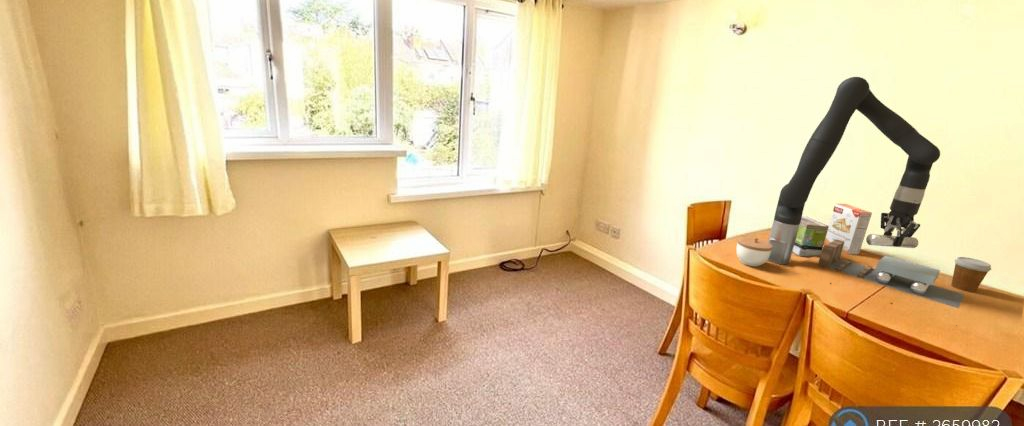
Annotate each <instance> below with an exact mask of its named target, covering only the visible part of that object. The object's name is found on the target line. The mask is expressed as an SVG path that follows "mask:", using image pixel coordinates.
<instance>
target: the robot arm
mask: <svg viewBox="0 0 1024 426" xmlns="http://www.w3.org/2000/svg"><path fill="white" fill-rule="evenodd" d="M855 111H858V112H859V113H860V114H862V115H863V116H864V117H866V118H867V119H868V121H870V122H871V123H872V124H873V126H874V127H875V128H877V130H879V131H880V133H881V134H883V135H884V136H885V137H886V138H887V139H889V140H890V141H891V142H892V143H893V144H894V145H896V146H897V147H899V148H901V150H902V151H904V153H905V154H906V155H907V156H908V157H907V161H906V165H905V170H904V172H903V175H902V177H901V179H900V182H899V184H898V187H897V188H896V191H895V192H894V196H893V199H892V201H891V204H890V206H889V210H890V211H889V212H881V214H880V228H881V229H883V231H884V233H883V235H888V236H893V232H894V230H895V229H896V231H897V232H896V235H895V236H896V238H895V240H894V244H893V246H895V247H894V248H901V247H900V246H901V245H902V242H903V240H904V238H905V237H909V238H910V237H913V235H914V234H915V233H916V232H917V230H918V229H919V228H920V227H921V224H920V223H916V222H915V221H914V220H915V219H914V218H915V216H916V215H917V214H918V212H919V211H920V207H921V205H922V202H923V200H924V196H925V193H926V189H927V187H928V184H929V181H930V177H931V175H930V172H931V170H932V168H933V165H934V163H936V162H937V161H938V160H939V159H940V158H941V157H940V156H941V150H940V149H939V147H938V146H936V145H935V144H934V142H931V141H930V140H929V139H928V138H926V137H925V136H923V135H922V134H921V133H920V132H918V130H917V129H916V128H915V127H914V126H912V124H910V123H909V122H908V121H907V120H905V118H903V117H902V116H900V115H899V114H898V113H897V112H896V111H893V110H892V109H891V108H889V107H888V106H886V105H885V104H884V103H883V101H881V100H880V99H878V98H877V97H876V96H875V94H874V93H873V92H872V90H871V89H870V84H869V82H868V81H867V80H866V79H865V78H864V77H860V76H852V77H849V78H846V79H844V80H843V81H842V82H841V83H840V84H839V85H838V87H837V89H836V91H835V96H834V98H833V100H832V102H831V104H830V107H829V109H828V111H827V112H826V114H825V115H824V117H823V118H822V120H821V122H819V124H818V125H817V127H816V128H815V130H814V131H813V133H812V134H811V136H810V138H809V139H808V141H807V144H806V145H805V147H804V149H803V151H802V154H801V157H800V159H799V163H798V165H797V167H796V171H795V172H794V174H793V176H792V177H791V179H790V180H789V182H788V183H786V184H785V185H784V186H783V187H782V188H781V190H780V192H779V197H778V201H777V205H776V209H775V212H774V216H773V221H772V226H771V230H770V233H769V237H768V240H767V242H769V243H770V244H772V246H773V248H772V251H771V254H770V256H769V258H768V260H767V261H768V262H772V263H773V264H774V263H775V264H778V265H789V264H790V262H791V258H792V254H793V252H792V251H793V248H794V244H795V240H796V237H797V233H798V229H799V226H800V222H801V219H802V216H803V212H804V210H805V209H804V208H805V205H806V202H807V201H808V199H809V195H810V193H811V191H812V189H813V187H814V184H815V182H816V180H817V178H818V177H819V175H820V174H821V173H822V171H823V170H824V168H825V167H826V165H827V164H828V162H829V161H830V160H831V157H832V156H833V155H834V153H835V152H836V149H837V148H838V146H839V145H840V142H841V140H842V138H843V136H844V134H845V132H846V129H847V126H848V124H849V121H850V120H851V118H852V116H853V115H854V113H855Z"/></svg>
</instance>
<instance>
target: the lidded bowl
mask: <svg viewBox="0 0 1024 426" xmlns="http://www.w3.org/2000/svg"><path fill="white" fill-rule="evenodd" d="M736 242H737V243H736V251H735V253H736V255H737V257H738V259H739V261H740V262H741V263H742V265H745V266H749V267H754V268H756V267H760V266H761V265H764V264H765V263H766V262H767V261H768V258H769V256H770V254H771V251H772V248H773V246H772V244H770V243H769V242H768V241H767V240H763V239H759V238H758V237H750V236H749V237H748V236H745V237H744V236H743V237H742V236H741V237H738V238H737V241H736Z"/></svg>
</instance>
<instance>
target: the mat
mask: <svg viewBox="0 0 1024 426" xmlns="http://www.w3.org/2000/svg"><path fill="white" fill-rule="evenodd" d="M845 261H846V259H841V258H839V259H838V260H837V261H836V262H834V263H833V264H831V265H830V266H828V267H827V269H829V270H832V271H836V272H839V273H842V274H845V275H849V276H851V277H855V278H858V279H862V280H865V281H867V282H868V281H869V282H872V283H875V284H878V285H880V286H884V287H887V288H891V289H894V290H897V291H900V292H903V293H907V294H910V295H914V296H917V297H920V298H924V299H927V300H930V301H933V302H936V303H939V304H944V305H945V306H950V307H953V308H957V309H959V307H960V305H961V303H962V300H963V299H964V296H965V294H963V293H961V292H958V291H953V290H950V289H947V288H943V287H939V286H935V285H934V284H933V285H929V287H928V288H927V290H926V291H925V293H923V294H921V295H917V294H914V293H912V292H911V290H910V287H911V285H912V284H913V283H914V281H915V280H912V279H908V278H905V277H901V276H898V275H894V277H893V278H892V279H891V280H890V281H889V282H888V283H886V284H880V283H878V282H877V281H876V279H875V277H876V275H877V274H878V273H879V272H880V270H877V269H876V268H873V267H872V269H871V270H870V271H869V272H868V273H867V274H866V275H864V276H863V277H862V278H861V277H857V275H858V273H860V272H861V271H862V270H863V269H864V268H866V267H867V266H865V265H862V264H859V263H856V262H853V261H852V262H851V263H850V264H849V265H848V266H846V267H845V268H844V269H842V270H841V271H838V270H836V267H838V266H839V265H841V264H842V263H843V262H845Z"/></svg>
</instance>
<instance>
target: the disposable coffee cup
mask: <svg viewBox="0 0 1024 426" xmlns="http://www.w3.org/2000/svg"><path fill="white" fill-rule="evenodd" d="M954 262H955V263H954V264H955V265H954V269H953V274H952V279H951V285H950V286H951V287H953V288H954V289H957V290H960V291H963V292H967V293H968V292H969V293H975V292H976V291H977V290H978V288H979V286H980V285H981V284H982V282H983V280H984V279H985V277H986V276H987V274H988V273H989V272H990V271H991V270H992V265H991V263H989V262H986V261H984V260H980V259H976V258H972V257H965V256H958V257H957V258H956V259H954Z"/></svg>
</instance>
